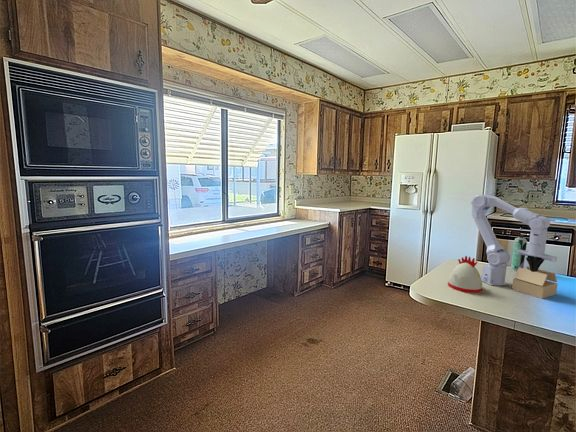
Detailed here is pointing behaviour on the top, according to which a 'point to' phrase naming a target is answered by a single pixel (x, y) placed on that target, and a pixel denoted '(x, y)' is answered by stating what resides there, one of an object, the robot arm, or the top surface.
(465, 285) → the kitchen timer
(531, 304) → the top surface
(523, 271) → the near flap
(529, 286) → the carton
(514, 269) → the spray can
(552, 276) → the far flap
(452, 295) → the top surface
